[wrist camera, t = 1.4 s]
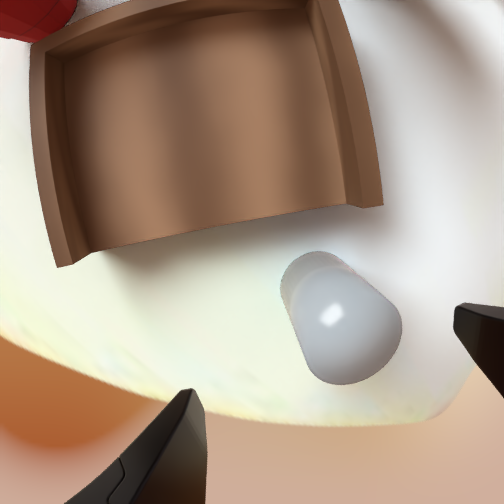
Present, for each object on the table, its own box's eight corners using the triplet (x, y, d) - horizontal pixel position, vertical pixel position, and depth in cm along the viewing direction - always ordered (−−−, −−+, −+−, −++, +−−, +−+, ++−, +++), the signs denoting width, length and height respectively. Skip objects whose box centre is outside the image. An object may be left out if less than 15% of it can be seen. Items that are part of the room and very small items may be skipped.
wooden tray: (308, 14, 16) (328, -25, 11) (346, 196, 20) (383, 205, 15) (69, 67, 16) (30, 45, 11) (95, 245, 20) (56, 268, 14)
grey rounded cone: (346, 245, 21) (403, 283, 13) (351, 310, 22) (398, 368, 14) (275, 259, 21) (299, 308, 13) (285, 325, 22) (309, 394, 14)
